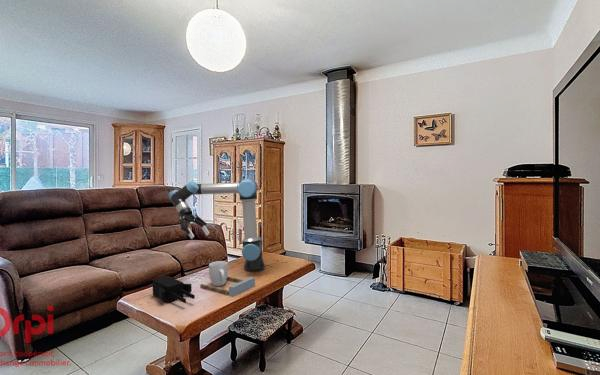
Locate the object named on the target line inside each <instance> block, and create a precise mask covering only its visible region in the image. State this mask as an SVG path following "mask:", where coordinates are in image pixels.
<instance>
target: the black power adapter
mask: <svg viewBox="0 0 600 375" xmlns="http://www.w3.org/2000/svg"><path fill="white" fill-rule="evenodd" d="M192 289H193V288H192V283H186V282H183V281H182V280H181V281H180V280H179V279H176V278H174V277H172V276H170V275H164V276H161V277H157V278H153V279H152V295H153V296H154V297H155V298H158V299H160V300H161V301H162V302H164V301H165V302H164V303H167V304H170V303H173V302H176V301H180V302H182V303H184V304H185V303H187V298H184V296H186V297H188V298H190V299H195V297H196V296H195V294H193V293H192Z"/></svg>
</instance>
